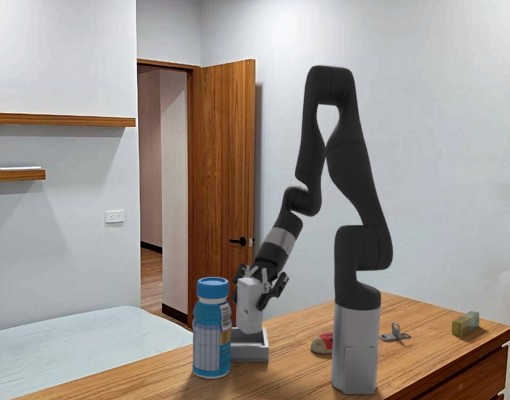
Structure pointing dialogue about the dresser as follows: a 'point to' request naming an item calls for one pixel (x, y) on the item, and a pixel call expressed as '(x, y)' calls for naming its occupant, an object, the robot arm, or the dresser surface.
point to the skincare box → (249, 305)
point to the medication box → (465, 323)
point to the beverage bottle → (212, 329)
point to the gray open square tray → (249, 346)
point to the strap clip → (394, 334)
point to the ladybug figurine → (323, 343)
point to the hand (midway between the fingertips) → (245, 305)
